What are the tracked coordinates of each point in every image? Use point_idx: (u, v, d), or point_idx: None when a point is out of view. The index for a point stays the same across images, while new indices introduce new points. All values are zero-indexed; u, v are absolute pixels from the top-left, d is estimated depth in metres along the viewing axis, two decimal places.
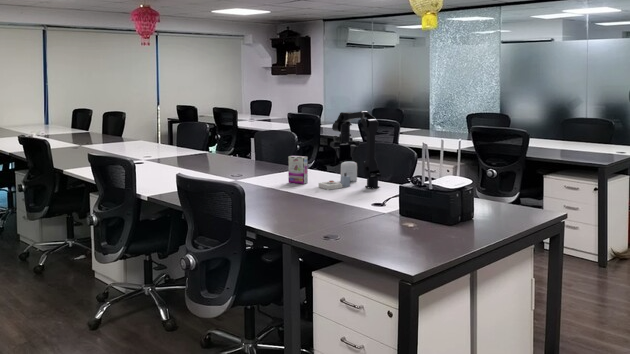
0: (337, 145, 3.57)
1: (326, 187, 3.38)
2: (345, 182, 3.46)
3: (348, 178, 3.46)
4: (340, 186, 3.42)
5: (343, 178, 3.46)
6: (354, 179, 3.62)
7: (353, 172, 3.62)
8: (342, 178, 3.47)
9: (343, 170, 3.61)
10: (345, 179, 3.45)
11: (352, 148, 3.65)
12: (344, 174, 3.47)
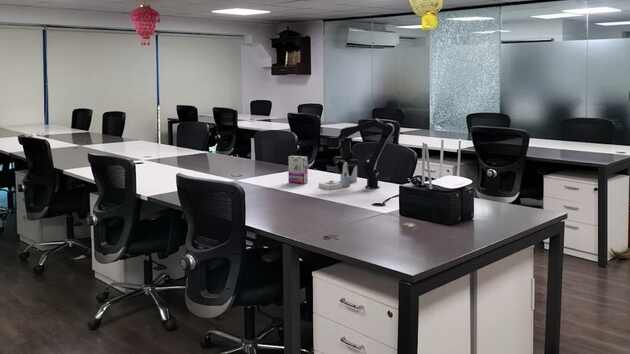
0: (334, 160, 3.50)
1: (326, 187, 3.38)
2: (345, 181, 3.46)
3: (348, 178, 3.46)
4: (340, 186, 3.42)
5: (343, 178, 3.46)
6: (354, 179, 3.62)
7: (353, 172, 3.62)
8: (342, 178, 3.47)
9: (343, 170, 3.61)
10: (345, 179, 3.45)
11: None
12: (344, 174, 3.47)
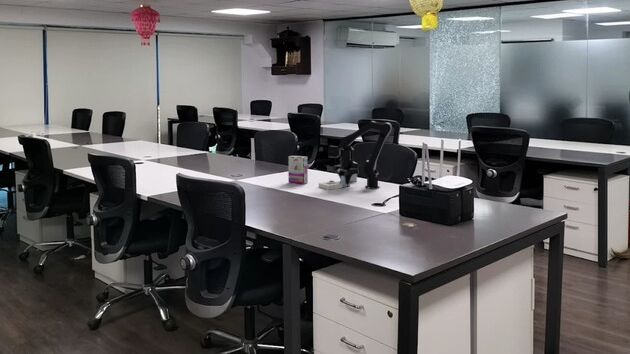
0: (334, 168, 3.51)
1: (326, 187, 3.38)
2: (345, 181, 3.46)
3: None
4: (340, 186, 3.42)
5: (343, 178, 3.46)
6: (354, 179, 3.62)
7: None
8: (342, 178, 3.47)
9: None
10: None
11: None
12: None
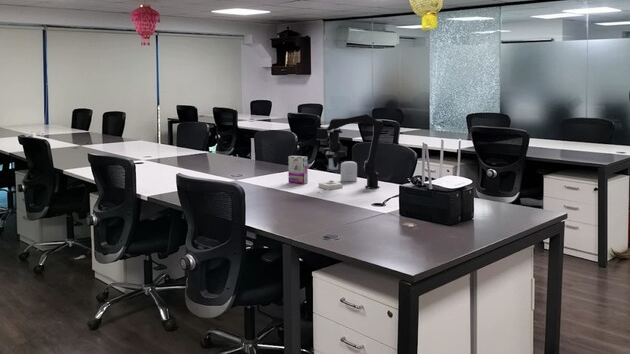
0: (322, 151, 3.46)
1: (326, 187, 3.38)
2: (333, 164, 3.41)
3: None
4: (340, 186, 3.42)
5: (331, 161, 3.41)
6: (354, 179, 3.62)
7: (353, 172, 3.62)
8: (330, 161, 3.42)
9: (343, 170, 3.61)
10: None
11: None
12: None
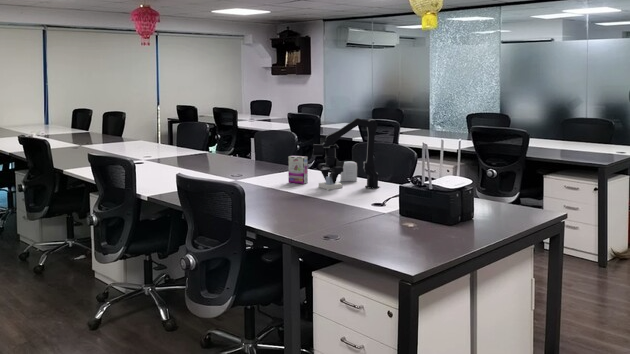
0: (319, 167, 3.46)
1: (326, 187, 3.38)
2: (330, 182, 3.41)
3: None
4: (340, 186, 3.42)
5: (328, 179, 3.42)
6: (354, 179, 3.62)
7: (353, 172, 3.62)
8: (327, 179, 3.42)
9: None
10: (330, 180, 3.41)
11: None
12: (329, 175, 3.42)
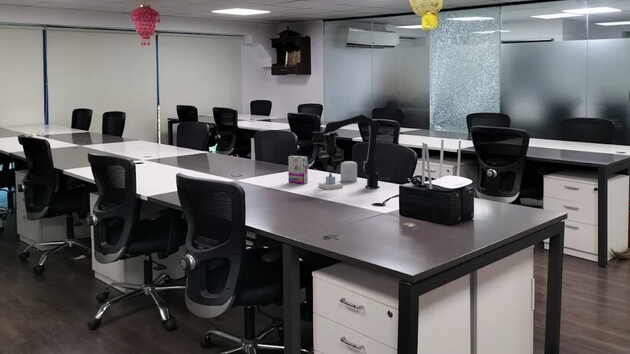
0: (319, 154, 3.45)
1: (326, 187, 3.38)
2: (330, 182, 3.41)
3: (333, 179, 3.42)
4: (340, 186, 3.42)
5: (328, 179, 3.42)
6: (354, 179, 3.62)
7: (353, 172, 3.62)
8: (327, 179, 3.42)
9: (343, 170, 3.61)
10: (330, 180, 3.41)
11: None
12: (329, 175, 3.42)
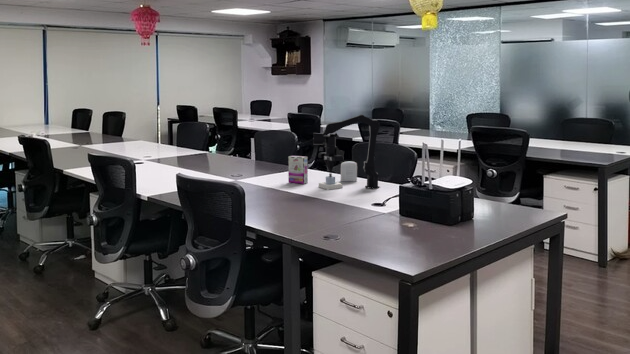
0: (319, 156, 3.45)
1: (326, 187, 3.38)
2: (330, 182, 3.41)
3: (333, 179, 3.42)
4: (340, 186, 3.42)
5: (328, 179, 3.42)
6: (354, 179, 3.62)
7: (353, 172, 3.62)
8: (327, 179, 3.42)
9: (343, 170, 3.61)
10: (330, 180, 3.41)
11: None
12: (329, 175, 3.42)
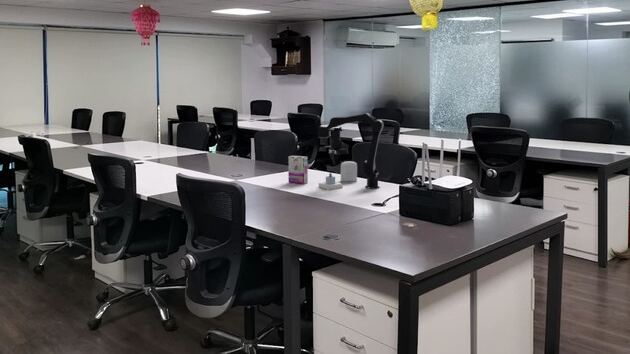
0: (324, 149, 3.51)
1: (326, 187, 3.38)
2: (330, 182, 3.41)
3: (333, 179, 3.42)
4: (340, 186, 3.42)
5: (328, 179, 3.42)
6: (354, 179, 3.62)
7: (353, 172, 3.62)
8: (327, 179, 3.42)
9: (343, 170, 3.61)
10: (330, 180, 3.41)
11: None
12: (329, 175, 3.42)
